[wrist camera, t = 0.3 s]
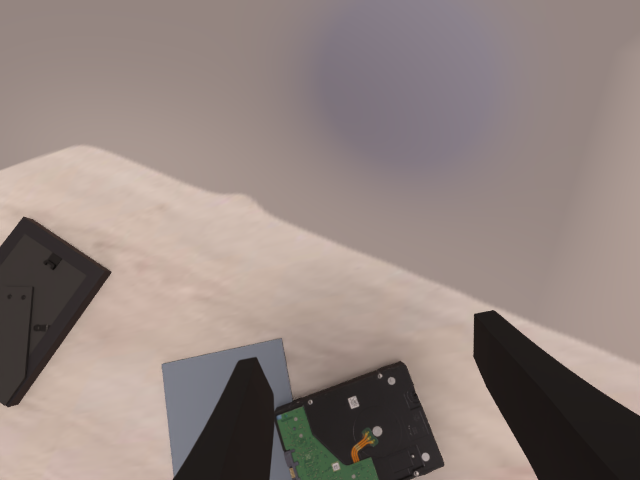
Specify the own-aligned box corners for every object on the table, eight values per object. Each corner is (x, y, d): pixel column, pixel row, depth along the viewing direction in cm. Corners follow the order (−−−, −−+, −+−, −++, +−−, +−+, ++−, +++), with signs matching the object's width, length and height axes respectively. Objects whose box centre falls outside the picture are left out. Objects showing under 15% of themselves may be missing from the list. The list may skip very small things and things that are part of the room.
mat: (321, 559, 36) (321, 560, 35) (186, 587, 36) (185, 588, 36) (281, 338, 40) (281, 338, 40) (162, 363, 41) (161, 364, 40)
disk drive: (399, 358, 39) (273, 407, 39) (404, 361, 37) (269, 414, 36) (438, 455, 37) (306, 509, 36) (447, 466, 34) (304, 524, 34)
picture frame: (22, 403, 41) (114, 272, 44) (5, 408, 39) (102, 270, 42) (-56, 340, 43) (36, 219, 46) (-77, 342, 41) (21, 215, 44)
